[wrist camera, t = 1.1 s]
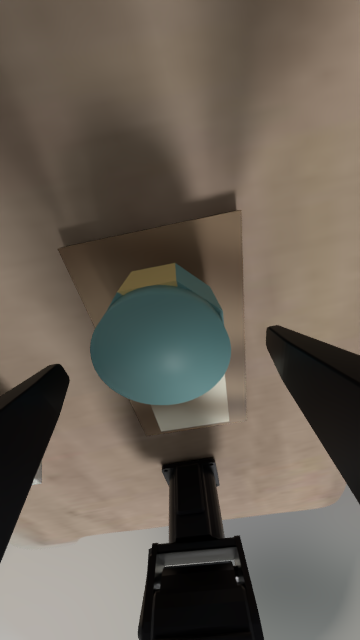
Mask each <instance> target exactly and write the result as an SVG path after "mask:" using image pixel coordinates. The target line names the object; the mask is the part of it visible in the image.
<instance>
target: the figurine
mask: <svg viewBox="0 0 360 640" xmlns="http://www.w3.org/2000/svg"><path fill="white" fill-rule="evenodd" d="M41 483H42V461H41V463H40V466H39V468H38V471H37V473H36V475H35V478H34V480H33V483H32V485H35V484H41Z"/></svg>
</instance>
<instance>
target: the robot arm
mask: <svg viewBox="0 0 360 640" xmlns="http://www.w3.org/2000/svg"><path fill="white" fill-rule="evenodd" d="M266 346H267V349H268V351H269V353H270V356H271V358H272V360H273V362H274V364H275V366H276V368H277V370H278V372H279V374H280V376H281V378H282V380H283V382H284V384H285V385H286V387H287V389H288V390H289V392H290V393H291V395H292V397H293V398H294V400H295V401H296V403H297V405H298V406H299V408H300V409H301V411H302V413H303V414H304V416H305V417H306V419H307V421H308V422H309V424H310V425H311V427H312V429H313V430H314V432H315V433H316V435H317V437H318V438H319V440H320V441H321V443H322V445H323V446H324V448H325V449H326V451H327V453H328V454H329V456H330V457H331V459H332V461H333V462H334V464H335V465H336V467H337V469H338V470H339V472H340V473H341V475H342V477H343V478H344V480H345V481H346V483H347V485H348V486H349V488H350V489H351V491H352V493H353V494H354V496H355V497H356V499H357V501H358V502H359V504H360V355H357V354H355V353H352V352H349V351H346V350H344V349H341V348H338V347H336V346H333V345H330V344H327V343H325V342H322V341H319V340H317V339H314V338H311V337H308V336H306V335H303V334H300V333H298V332H295V331H292V330H289V329H287V328H284V327H281V326H279V325H275V326H270V327H268V328H267V331H266ZM69 381H70V380H69V376H68V375H67V373H66V371H65V370H64V368H63V367H62V365H60V364H53V365H49V366H47V367H46V368H44V369H42V370H41V371H39V372H38V373H36V374H35V375H33V376H32V377H30V378H28V379H27V380H25V381H24V382H22V383H21V384H19V385H17V386H16V387H14V388H13V389H11V390H10V391H8V392H7V393H5V394H3V395H2V396H0V562H1V560H2V558H3V555H4V553H5V550H6V548H7V545H8V543H9V540H10V538H11V535H12V533H13V530H14V528H15V525H16V523H17V520H18V518H19V515H20V513H21V510H22V508H23V505H24V503H25V500H26V498H27V495H28V493H29V490H30V488H31V485H32V483H33V480H34V478H35V475H36V473H37V471H38V468H39V466H40V463H41V461H42V458H43V456H44V453H45V451H46V448H47V446H48V443H49V441H50V438H51V436H52V433H53V431H54V428H55V426H56V423H57V421H58V418H59V415H60V412H61V409H62V406H63V402H64V399H65V395H66V392H67V389H68V385H69ZM162 473H163V475H164V477H165V479H166V481H167V483H168V485H169V543H166V544H158V543H153V544H152V548H151V549H149V555H148V571H147V579H146V585H145V591H144V597H143V603H142V609H141V615H140V621H139V626H138V638H139V640H264V637H263V632H262V627H261V623H260V618H259V613H258V609H257V604H256V600H255V596H254V592H253V588H252V584H251V580H250V576H249V572H248V567H247V564H246V559H245V555H244V551H243V548H242V543H241V539H240V536H234V537H233V538H225V537H224V531H223V524H222V518H221V512H220V506H219V500H218V494H217V488H216V487H217V486H219V479H218V474H217V469H216V463H215V460H214V459H204V460H196V461H189V462H182V463H175V464H168V465H163V466H162ZM223 560H235V566H233V564H232V562H231V561H225V562H214V563H203V564H191V565H180V566H169V567H165V566H166V565H177V564H189V563H200V562H212V561H223Z"/></svg>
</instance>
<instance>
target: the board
mask: <svg viewBox="0 0 360 640" xmlns="http://www.w3.org/2000/svg"><path fill="white" fill-rule="evenodd" d="M58 251H59V253H60V255H61V257H62V259H63V261H64V263H65V266H66V268H67V270H68V272H69V274H70V276H71V278H72V280H73V282H74V285H75V287H76V289H77V291H78V293H79V295H80V297H81V299H82V301H83V304H84V306H85V308H86V310H87V312H88V314H89V316H90V318H91V320H92V323H93V325H94V327H95V328H96V326H97V325H98V323H99V322H100V320H101V319H102V317H103V316H104V314H105V313H106V311H107V309H108V307H109V305H110V304H111V302H112V300H113V298H114V296H115V295H116V293H117V291H118V290H119V288H120V287H121V286H122V284H123V283H124V281H125V280H126V279H127V277H128V276H129V274H130V273H131V272H132V271H137V270H142V269H147V268H152V267H157V266H162V265H167V264H172V263H176V264H177V265H179V266H180V267H182V268H183V269H185V270H186V271H188V272H189V273H191V274H192V275H194V276H195V277H196V278H198V279H199V280H201V281H202V282H204V283H205V284H207V285H208V286H210V288H211V289H212V291H213V293H214V295H215V297H216V299H217V301H218V303H219V304H220V306H221V308H222V310H223V318H224V327H225V329H226V331H227V333H228V336H229V339H230V344H231V357H230V362H229V365H228V368H227V370H226V372H225V374H224V376H223V377H222V378H221V380H220V381H219V382H218V383H217V384H216V385H215V386H214V387H213V388H212V389H211V390H209V391H208V392H206V393H205V394H203V395H201V396H199V397H198V398H195V399H193V400H190V401H187V402H184V403H179V404H173V405H151V404H144V403H140V402H136V401H133V400H130V399H129V401H130V403H131V405H132V407H133V409H134V411H135V413H136V415H137V418H138V420H139V422H140V424H141V426H142V428H143V430H144V432H145V435H146V436H151V435H157V434H164V433H171V432H178V431H184V430H191V429H198V428H204V427H211V426H218V425H224V424H231V423H238V422H244V421H247V407H246V369H245V331H244V293H243V255H242V217H241V210H236V211H232V212H227V213H222V214H217V215H213V216H208V217H203V218H198V219H194V220H189V221H184V222H179V223H175V224H170V225H165V226H161V227H156V228H151V229H146V230H142V231H137V232H132V233H127V234H123V235H118V236H113V237H108V238H104V239H99V240H94V241H90V242H85V243H80V244H75V245H71V246H66V247H62V248H59V249H58Z"/></svg>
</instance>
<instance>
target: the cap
mask: <svg viewBox="0 0 360 640" xmlns="http://www.w3.org/2000/svg"><path fill="white" fill-rule="evenodd" d="M90 352H91V359H92V363H93V366H94V368H95V370H96V372H97V373H98V375H99V377H100V378H101V379H102V380H103V381H104V383H105V384H107V385H108V386H109V387H110V388H111V389H112V390H114V391H115V392H117V393H118V394H120V395H122V396H124V397H126V398H128V399H130V400H133V401H136V402H140V403H144V404H151V405H173V404H179V403H184V402H187V401H190V400H193V399H195V398H198V397H199V396H201V395H203V394H205V393H206V392H208V391H209V390H211V389H212V388H213V387H214V386H215V385H216V384H217V383H218V382H219V381H220V380H221V378H222V377H223V376H224V374H225V372H226V370H227V368H228V365H229V362H230V357H231V344H230V339H229V336H228V333H227V331H226V329H225V327H224V318H223V310H222V308H221V306H220V304H219V303H218V301H217V299H216V297H215V295H214V293H213V291H212V289H211V288H210V286H208V285H207V284H205V283H204V282H202V281H201V280H199V279H198V278H196V277H195V276H194V275H192V274H191V273H189V272H188V271H186V270H185V269H183V268H182V267H180V266H179V265H177V264H176V263H172V264H167V265H162V266H157V267H152V268H147V269H142V270H137V271H132V272H131V273H130V274H129V276H128V277H127V279H126V280H125V281H124V283H123V284H122V286H121V287H120V288H119V290H118V291H117V293H116V295H115V296H114V298H113V300H112V302H111V304H110V305H109V307H108V309H107V311H106V313H105V314H104V316H103V317H102V319H101V320H100V322H99V323H98V325H97V326H96V328H95V330H94V333H93V335H92V339H91V346H90Z"/></svg>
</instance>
